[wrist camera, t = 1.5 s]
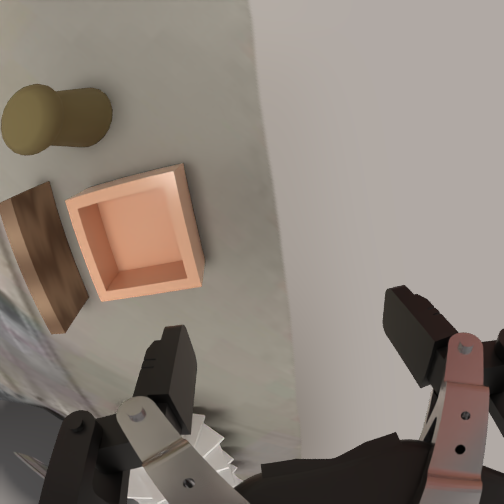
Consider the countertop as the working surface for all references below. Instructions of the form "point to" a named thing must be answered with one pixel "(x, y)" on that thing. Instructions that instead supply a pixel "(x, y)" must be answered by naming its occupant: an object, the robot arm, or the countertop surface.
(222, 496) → the robot arm
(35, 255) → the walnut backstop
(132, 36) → the countertop surface
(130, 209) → the terracotta holder
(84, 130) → the cork
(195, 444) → the spiral staircase
